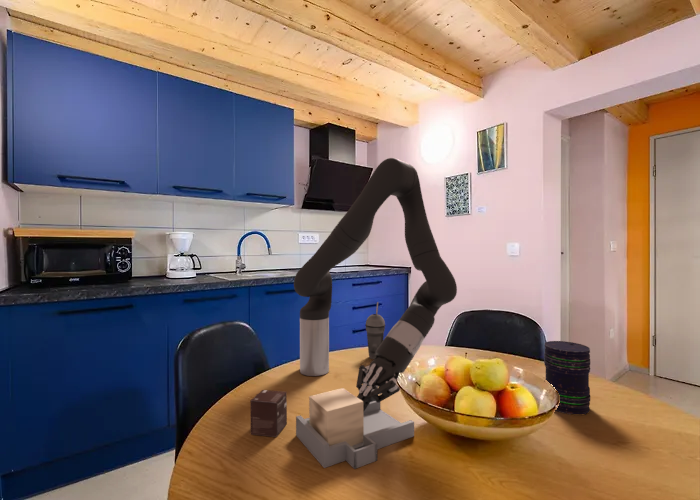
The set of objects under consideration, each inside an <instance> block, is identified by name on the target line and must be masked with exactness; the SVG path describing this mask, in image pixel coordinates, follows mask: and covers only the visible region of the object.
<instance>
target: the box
mask: <svg viewBox="0 0 700 500" xmlns="http://www.w3.org/2000/svg"><path fill="white" fill-rule="evenodd" d="M287 411H288V406H287V391H283V390H282V391H281V390H270V389H269V390H267V389H266V390H265V389H264V390H261V391H260V392H258V393H257V394H256V395H255V396H254V397H252V398H251V400H250V435H253V436H263V437H264V436H265V437H273V438H276V437H278V436H279V434H280V433H282V431H283V430H284V428H285V427H286V425H287V424H288V418H287V417H288V416H287V415H288V413H287Z"/></svg>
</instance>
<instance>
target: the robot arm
mask: <svg viewBox="0 0 700 500" xmlns="http://www.w3.org/2000/svg"><path fill="white" fill-rule="evenodd" d="M390 196H394V197H395V198H396V199H397V200H398V202H399V205H400V206H401V208H402V212H403V218H404V238H405V239H404V240H405V243H406V244H405V245H406V248H407V250H408V253H409V257H410V260H411V262H412V265H413V267H414V269H415V270H417V271H420V272H421V273H422V274H423V277H424V279H425V281H424V282H423V283H422V284H421V285H420V287H419V288H418V289H417V291H416V292H415V294H414V296H413V298H412V301H411V302H410V303H409V306H408V308H407V309H406V310H405V311H404V313H403V314H402V315H401V317H399V320H398V321H397V322H396V323H395V324H394V325H393V326H392V327H391V329H390V330H389V331H388V333H387V334H386V336H384V338H383V342H382V343H381V344H380V346H379V347H378V349H377V350H376V358H375V359H372V361H371V362H370V363H369V365H367V366H365V365H363V364H361V365H360V366H359V367H358V373H357V380H356V388H357V390H358V394H357V396H356V397H357V398H359V399H360V400H362V401H363V412H364V411H365V409H366V408H367V406H368V405H369V403H370V402H373V401H376V402H377V403H379V402H380V403H381V402H382V401H384V400H386V399H388V398H389V397H391V396H393V395H395V394H397V393H399V392H400V391H401V387H400V386H399V385H398V384H397V383H398V382H397V380H398V378H399V375H400V374H402V373H404V372H405V371H406V370H407V368H408V367H409V365H410V363H411V362H412V360H413V359H414V357H415V356H416V355H417V353H418V351H419V350H420V348H421V346H422V344H423V342H424V340H425V338H426V337H427V335H428V334H429V332H430V331H431V329H433V326H434V323H435V317H436V314H437V313H438V311H439V310H440V308H441V307H442V306H444V305H446V304H449V303H451V302H452V301H453V300H455V298H456V296H457V293H458V287H457V282H456V279H455V277H454V275H453V273H452V271H451V270H450V269H449V267H448V266H447V264H446V262H445V261H444V260H443V258H442V256H441V254H440V252H439V251H440V250H439V249H438V246H437V243H436V240H435V238H434V235H433V232H432V229H431V225H430V223H429V219H428V217H427V216H428V215H427V211H426V208H425V203H424V199H423V193H422V188H421V182H420V178H419V175H418V172H417V169H416V168H415V167H414V166H413V165H411V164H410V163H408V162H406V161H403V160H401V159H398V158H397V157H396V158H395V157H389V158H386V159H384V160H382V161H381V162H380V163H379V164H378V166H376V168H375V169H374V171H373V173H372V174H371V176H370V177H369V179H368V181H367V182H366V184H365V186H364V187H363V190H361V192H360V193H359V195H358V196H357V198H356V199H355V201H354V202H353V203H352V205H351V206H350V207H349V209H348V210H347V212H346V213H345V214H344V216H342V218H341V219H340V220H339V221H338V223H337V224H336V226H335V227H334V228H333V230H332V231H331V232H330V234H328V237H326V239H324V242H323V243H322V244H321V245H320V246H319V248H318V249H317V250H316V252H315V253H314V254H313V255H312V256H311V257H310V258H309V259H308V260H307V261H306V262H305V263H304V264H303V265H302V267H300V268H299V270H298V271H297V273H296V274H295V275H294V276H295V277H294V280H293V289H294V291H295V293H296V294H297V295H299V296H300V297H304V298H308V300H307V303H306V304H305V305H303V306H302V307H301V308H300V310H299V373H300V374H301V375H303V376H306V377H307V376H308V377H309V376H310V377H318V376H323V375H326V374H328V373H329V372H330V311H331V309H332V308H331V307H332V304H333V303H332V300H333V299H332V298H333V279H332V278H333V277H332V275H331V273H330V271H331V270H332V269H333V268H334V267H336V266H337V265H339V264H341V263H342V262H344V261H345V260H347V259H349V258H350V257H351V256H352V255H354V254H355V253H356V252H357V251H358V250H359V249H360V248H361V246H362V245H363V244H364V243H365V241H366V240H367V239H368V237H369V235H370V233H371V232H372V228H373V223H374V219H375V217H376V214H377V212H378V210H379V209H380V208H381V206H382V205H383V204H384V203H385V201H387V200H388V198H389V197H390Z"/></svg>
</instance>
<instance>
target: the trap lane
mask: <svg viewBox="0 0 700 500" xmlns="http://www.w3.org/2000/svg"><path fill="white" fill-rule="evenodd" d="M363 420H364V435H363V442H362V443H359V444H356V445H353V446H350V445H349V444H348V443H347V442H346V441H344V442H341V443H338V444H334V445H331V446H329V444H328V443H327V442H326V441H325V440H324V439H323V438H322V437H321V436H320V435H319V434H318V433H317V432H316V431H315V430H314V428H313V427H312V426H311V425H310V423H309V417H306V418H304V417H303V416H302V415H296V416H295V436H296V437H297V439H298V440H299V441H300V442H301V443H302V444H303V446H305V448H306V449H307V450H308V451H309V453H311V455H312V456H313V457H314V458H315V459H316V460H317V462H318V463H319V464H320V466H321V467H323V469H326V468H329V467H331V466H334V465H336V464H340V463H342V462H345V461H346V462H347V463H348V464H349V465H350V467H352V468H353V469H354V470H356V469H358V468H361V467H363V466H367V465H368V464H369V465H370V464H371V463H374V462H376V461H378V450H379V449H382V448H386V447H388V446H390V445H393V444H396V443H400V442H402V441H404V440H407V439H411V438H413V437H415V421H413V419H412V420H411V419H410V420H407V421H404V422H401V421H400V420H397V419H396V418H395V417H393V416H391V415H390V414H388V413H387V412H385V411H383V410H382V409H381V402H379V403H377V402H376V401H373V402H370V403H369V405H368V406H367V408H366V409H365V411H364V412H363Z"/></svg>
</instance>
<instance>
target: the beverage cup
mask: <svg viewBox="0 0 700 500" xmlns="http://www.w3.org/2000/svg"><path fill="white" fill-rule="evenodd" d="M375 311H376V312H375V313H372V314H370V315H369V316H368V317H367V319H366V321H365V325H364V327H365V332H366V338H367V340H366V341H367V350H368V358H369V359H371V360H374V359H375V358H376V350H377V349H378V347H379V346H380V344H381V343H382V342H383V340H384V338H385V336H384V335H385V333H384V332H385V329H386V321H385V319H384V318H383V316H382V315H380V314H378V311H379V301H377V302H376V309H375Z"/></svg>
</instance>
